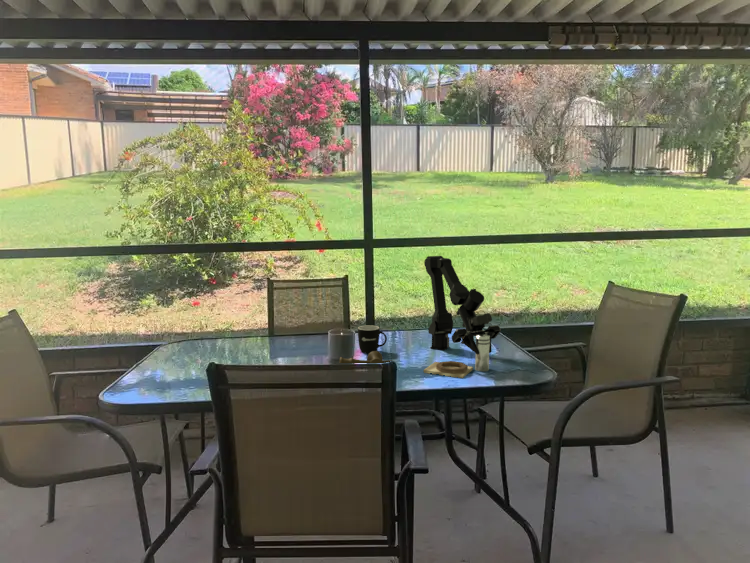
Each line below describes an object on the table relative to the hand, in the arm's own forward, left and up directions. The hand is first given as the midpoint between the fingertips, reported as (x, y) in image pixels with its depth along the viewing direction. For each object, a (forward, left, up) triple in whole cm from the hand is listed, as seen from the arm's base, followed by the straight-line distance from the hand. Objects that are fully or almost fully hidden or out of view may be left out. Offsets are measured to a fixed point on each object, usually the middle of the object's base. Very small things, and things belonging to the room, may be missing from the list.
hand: (484, 353), depth 221 cm
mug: (-49, +5, -7) cm, 50 cm away
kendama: (-40, -18, -7) cm, 44 cm away
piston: (-1, +1, -7) cm, 7 cm away
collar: (-12, -7, -7) cm, 15 cm away
